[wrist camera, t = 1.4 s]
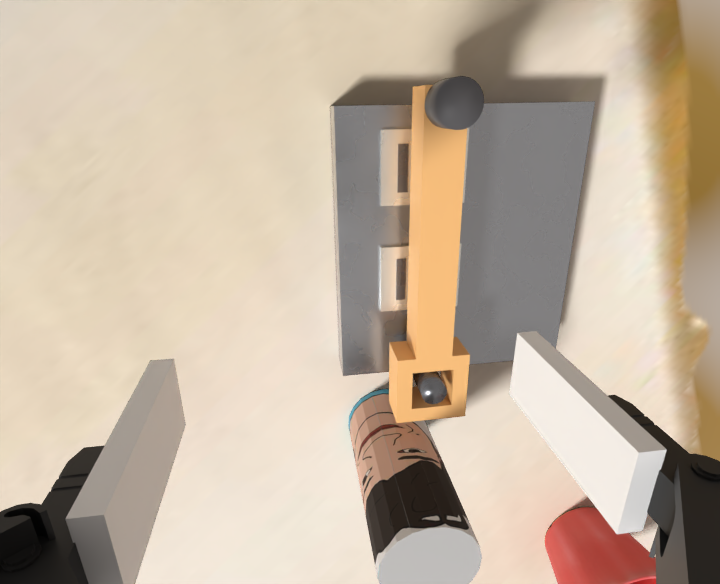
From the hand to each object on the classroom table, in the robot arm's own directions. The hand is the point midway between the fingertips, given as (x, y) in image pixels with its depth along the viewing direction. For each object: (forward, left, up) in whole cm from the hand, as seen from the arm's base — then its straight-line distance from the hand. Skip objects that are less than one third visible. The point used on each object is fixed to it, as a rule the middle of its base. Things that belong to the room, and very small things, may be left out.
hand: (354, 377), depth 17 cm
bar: (+1, +7, -16) cm, 17 cm away
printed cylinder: (+18, +5, -21) cm, 28 cm away
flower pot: (+36, +27, -21) cm, 49 cm away
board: (+1, +10, -20) cm, 23 cm away
